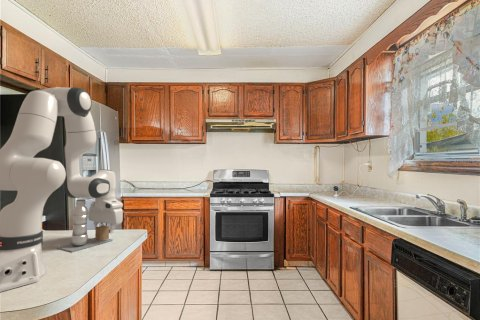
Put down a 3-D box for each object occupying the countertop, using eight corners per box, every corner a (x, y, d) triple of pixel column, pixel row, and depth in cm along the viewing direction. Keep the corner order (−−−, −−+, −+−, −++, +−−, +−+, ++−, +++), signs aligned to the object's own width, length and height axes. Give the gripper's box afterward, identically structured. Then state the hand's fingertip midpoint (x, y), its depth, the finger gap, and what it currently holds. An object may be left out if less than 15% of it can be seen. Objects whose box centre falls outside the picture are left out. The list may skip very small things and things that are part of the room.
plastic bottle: (90, 243, 127) (92, 199, 127) (81, 248, 120) (83, 201, 120) (77, 242, 127) (78, 198, 127) (67, 247, 121) (68, 200, 121)
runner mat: (71, 252, 116) (72, 236, 116) (57, 248, 120) (57, 233, 120) (113, 240, 134) (114, 226, 134) (99, 237, 139) (100, 224, 139)
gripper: (85, 201, 137) (84, 230, 137) (114, 205, 128) (113, 236, 128) (96, 200, 143) (95, 227, 142) (125, 204, 133) (124, 233, 133)
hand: (104, 231), depth 135 cm, fingers open, 8 cm apart
